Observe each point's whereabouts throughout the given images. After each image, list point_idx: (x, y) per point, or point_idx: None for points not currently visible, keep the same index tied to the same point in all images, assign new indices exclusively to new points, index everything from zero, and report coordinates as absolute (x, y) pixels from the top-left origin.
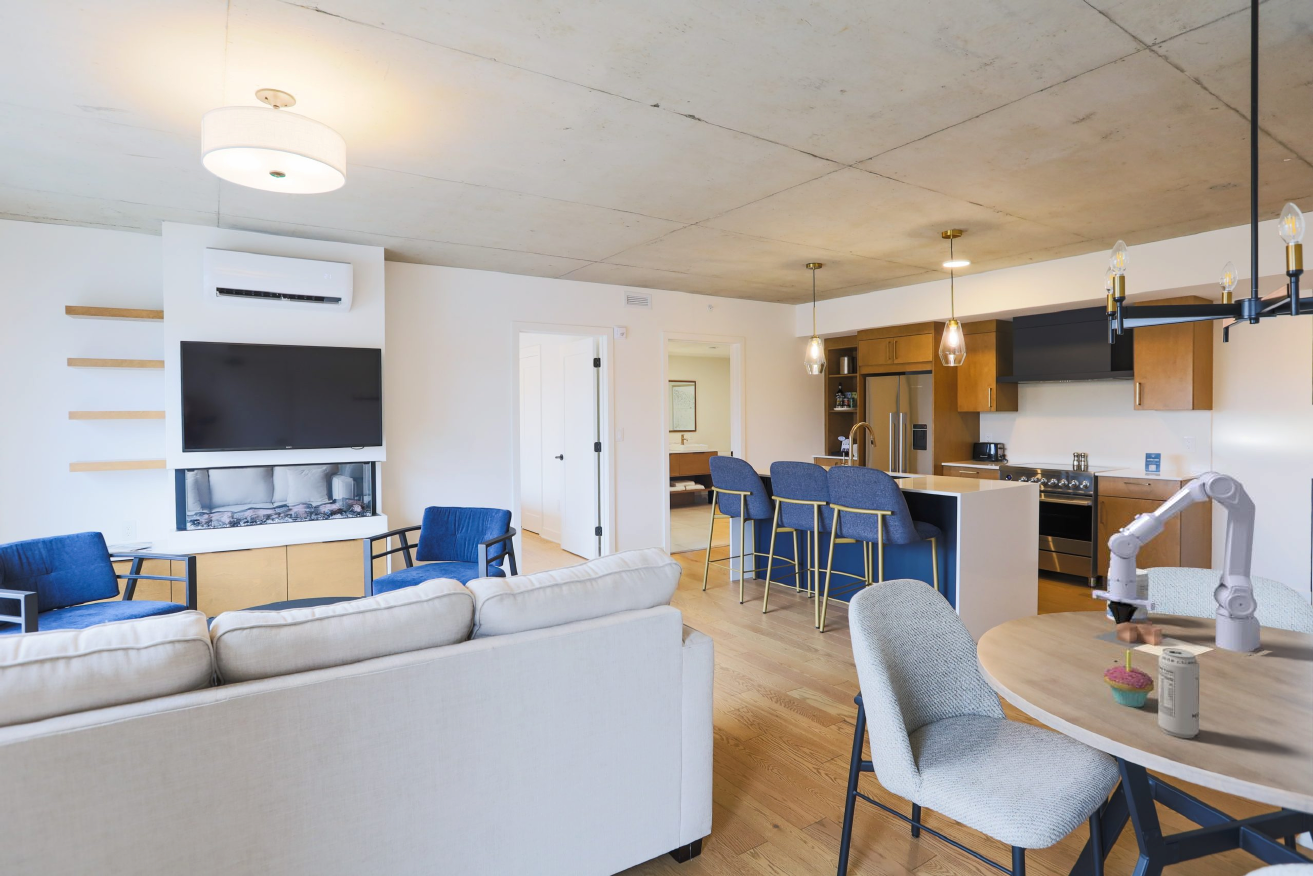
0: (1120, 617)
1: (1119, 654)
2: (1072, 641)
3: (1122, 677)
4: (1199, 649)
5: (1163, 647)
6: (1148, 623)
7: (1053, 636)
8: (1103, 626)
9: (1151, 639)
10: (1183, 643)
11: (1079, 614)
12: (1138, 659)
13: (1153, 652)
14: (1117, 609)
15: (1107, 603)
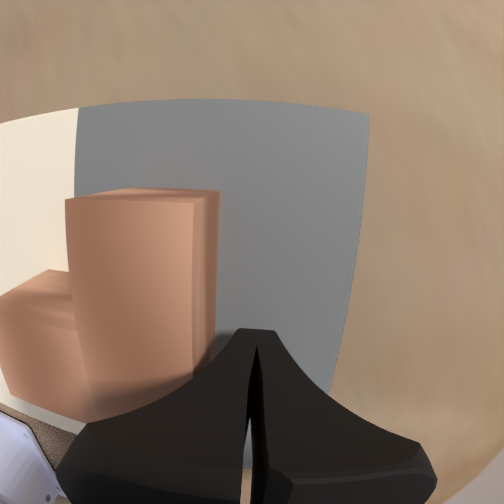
0: (235, 390)
1: (118, 3)
2: (403, 9)
3: None
4: None
5: (20, 279)
6: None
7: (491, 39)
8: (405, 427)
9: (37, 282)
10: None
11: (487, 454)
12: (40, 30)
13: (3, 144)
14: (266, 461)
15: None
